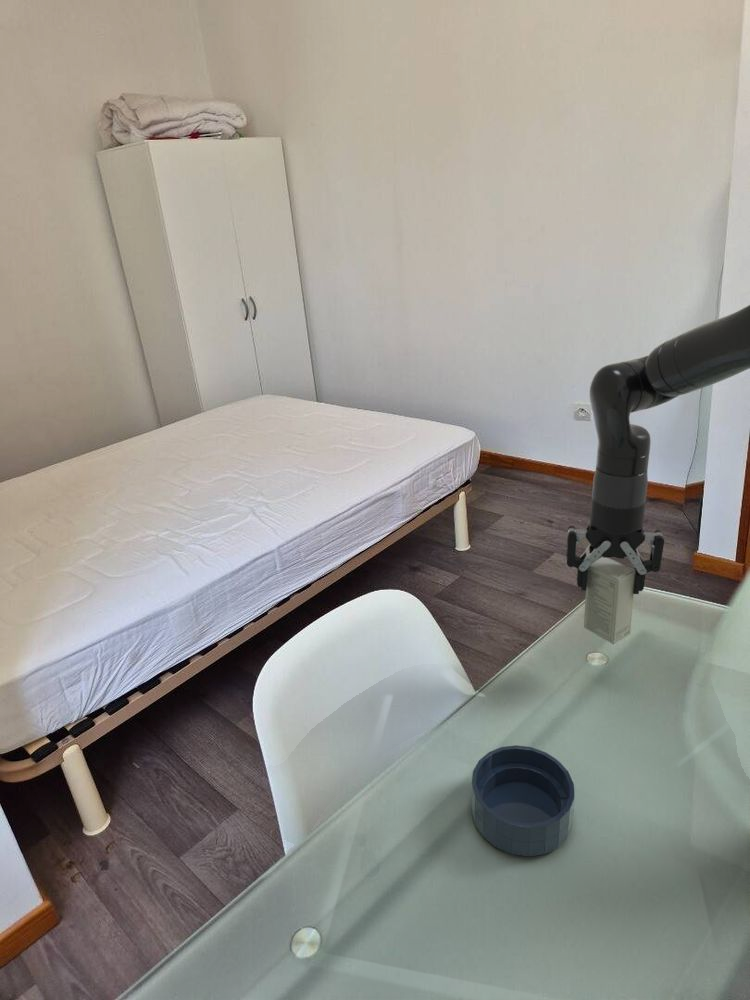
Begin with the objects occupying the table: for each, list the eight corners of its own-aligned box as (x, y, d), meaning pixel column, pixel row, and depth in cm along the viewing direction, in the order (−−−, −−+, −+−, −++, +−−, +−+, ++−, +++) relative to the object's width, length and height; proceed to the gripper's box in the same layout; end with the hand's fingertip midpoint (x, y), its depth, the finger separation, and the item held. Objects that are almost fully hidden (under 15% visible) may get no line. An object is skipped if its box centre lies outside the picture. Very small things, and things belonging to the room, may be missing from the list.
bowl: (569, 782, 98) (572, 751, 95) (572, 866, 86) (576, 834, 84) (476, 770, 100) (476, 740, 98) (467, 850, 89) (467, 818, 86)
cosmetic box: (630, 635, 110) (638, 570, 105) (612, 646, 108) (619, 580, 103) (599, 617, 115) (604, 554, 110) (580, 627, 113) (586, 563, 107)
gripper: (568, 504, 99) (562, 600, 106) (675, 508, 96) (661, 606, 103) (567, 483, 106) (561, 574, 113) (667, 486, 102) (654, 579, 110)
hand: (609, 589), depth 108 cm, fingers closed on cosmetic box, 7 cm apart
